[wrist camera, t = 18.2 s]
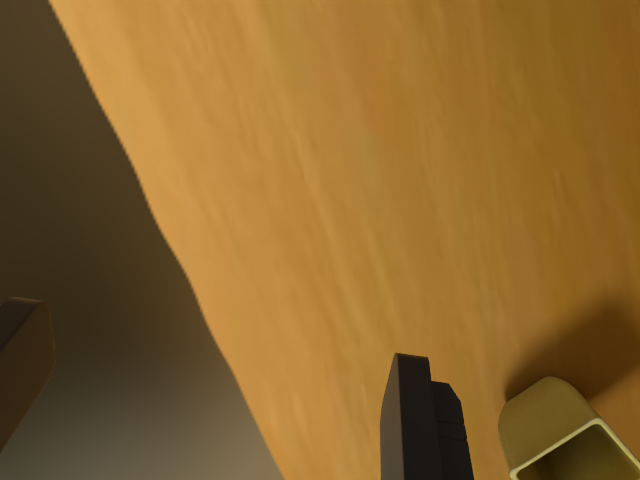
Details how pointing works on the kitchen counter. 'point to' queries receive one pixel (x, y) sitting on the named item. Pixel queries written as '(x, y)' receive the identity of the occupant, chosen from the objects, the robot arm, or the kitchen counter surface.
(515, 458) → the flower pot
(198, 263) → the kitchen counter surface
